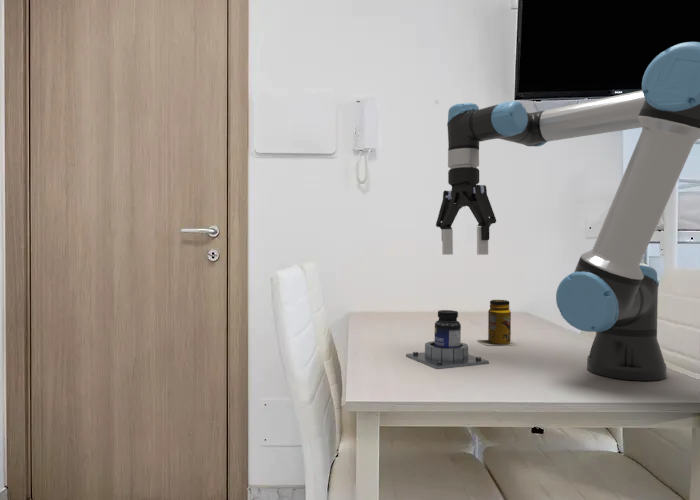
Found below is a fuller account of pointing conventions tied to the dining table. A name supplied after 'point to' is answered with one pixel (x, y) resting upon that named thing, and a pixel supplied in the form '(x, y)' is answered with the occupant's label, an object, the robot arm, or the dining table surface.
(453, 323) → the pill bottle
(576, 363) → the dining table surface
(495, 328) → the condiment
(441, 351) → the fitting
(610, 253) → the robot arm
